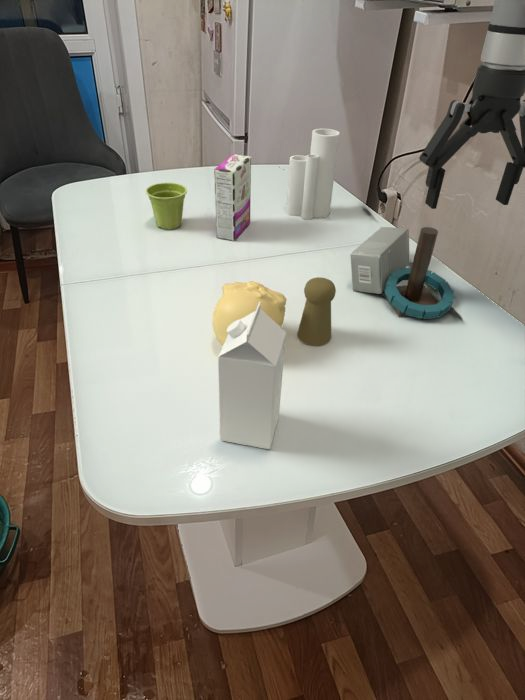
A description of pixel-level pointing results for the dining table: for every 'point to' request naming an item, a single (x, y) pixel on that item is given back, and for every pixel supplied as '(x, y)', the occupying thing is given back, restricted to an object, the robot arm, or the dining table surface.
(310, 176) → the vase
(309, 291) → the brown pawn
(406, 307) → the ring
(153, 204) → the plant pot
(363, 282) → the cosmetic box
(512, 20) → the robot arm
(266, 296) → the sculpture
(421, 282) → the post
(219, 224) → the candy bar box
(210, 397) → the dining table surface
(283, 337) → the milk carton
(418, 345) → the dining table surface
